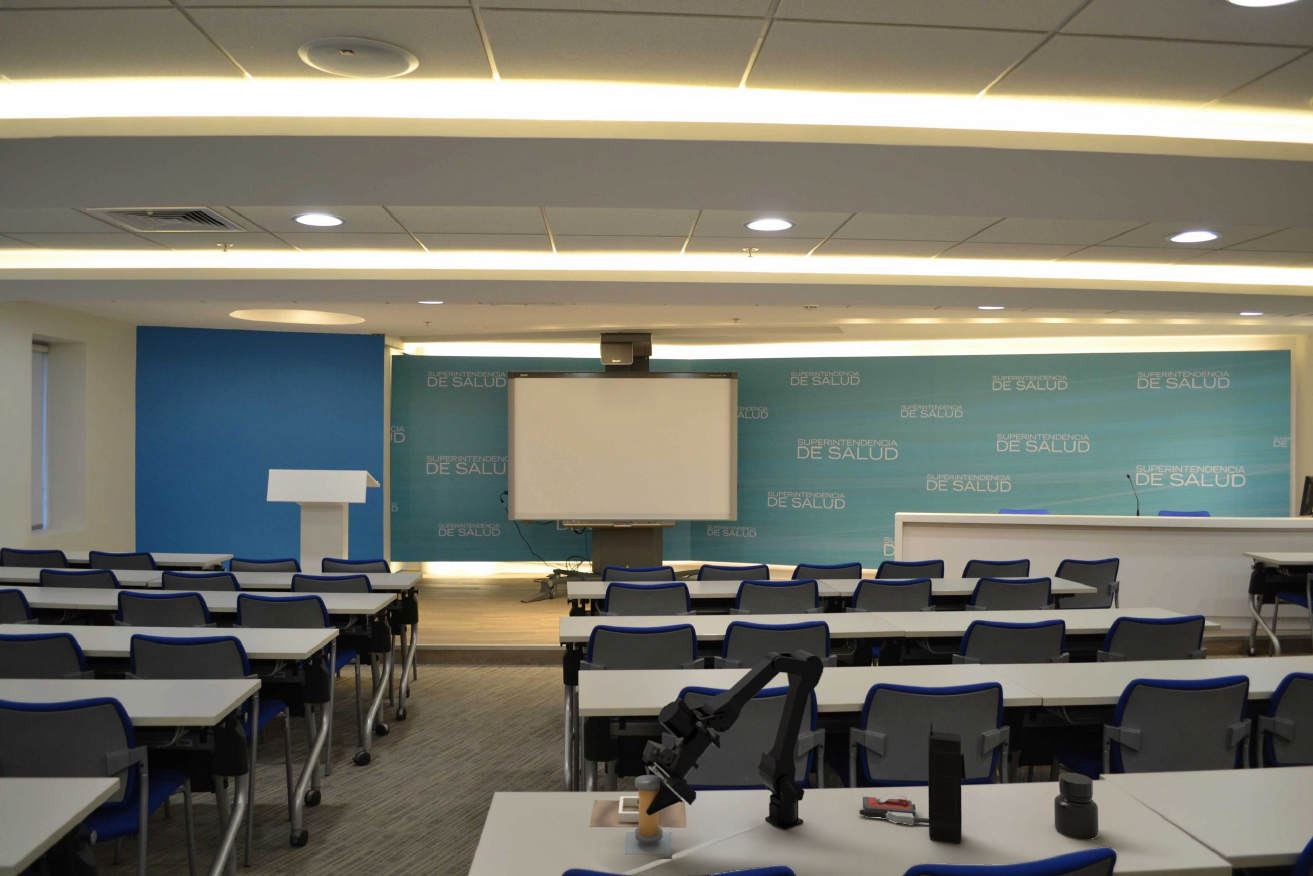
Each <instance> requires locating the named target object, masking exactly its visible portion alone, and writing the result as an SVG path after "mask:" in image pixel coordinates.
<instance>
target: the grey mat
mask: <svg viewBox="0 0 1313 876" xmlns="http://www.w3.org/2000/svg"><path fill="white" fill-rule="evenodd" d="M625 833H626V834H625V846H624V855H667V856H664V857H661V858H659V859H660V860H672V859H673V849H672V848H673V847H672V846H673V845H672V832H671V831H669V832H668V831H663V837H662V839H661V840H659V841H657V842H653V843H644V842H640V841H638V840H637V839H636V838H635V831H626V832H625Z"/></svg>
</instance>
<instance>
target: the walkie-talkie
mask: <svg viewBox="0 0 1313 876" xmlns="http://www.w3.org/2000/svg"><path fill="white" fill-rule="evenodd" d="M858 812H859V813H858V814H859V815H860V816H864V815H865V816H867V817H881V818H886V819H888V820H891V821H894V822H897V823H906V824H911V825H910V826H912V825H915V824H916V823H917V824H920V823H922V824H929V817H928V818H927V817H919V816H917V815H916V814H917V810H916V804H915V803H912V800H910V799H908V798H907V797H906V795H905V796H904V795H894V794H889V795H886V796H884V797H880V795H875V797H874V796H873V797H872V796H862V809H859V811H858ZM886 819H885V820H886ZM888 820H887V821H888Z"/></svg>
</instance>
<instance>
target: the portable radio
mask: <svg viewBox="0 0 1313 876" xmlns="http://www.w3.org/2000/svg"><path fill="white" fill-rule="evenodd" d="M929 725H930V730H928V733H927V750H928V751H927V753H928V755H927V761H928V762H927V765H928V767H927V769H928V771H927V772H928V774H927V776H928V777H927V778H928V781H927V783H928V784H927V785H928V788H927V789H928V792H927V793H928V795H927V796H928V818H929V823H928V837H929V839H930V840H931V841H936V842H941V843H942V842H943V843H950V844H956V845H959V844H961V843H962V835H963V834H962V832H963V831H962V828H963V827H962V822H963V821H962V817H963V815H962V814H963V813H962V811H963V810H962V780H964V782H966V781H967V779H966V764H965V753H964V752H963V753H962V738H961V734H959V733H954V732H952V733H951V732H943V731H936V730H935V731H934V730H933V726H934V724H933V723H929Z"/></svg>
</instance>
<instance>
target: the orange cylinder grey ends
mask: <svg viewBox="0 0 1313 876" xmlns="http://www.w3.org/2000/svg"><path fill="white" fill-rule="evenodd" d="M660 780H661V781H662V782H664V781H663V780H664V779H663V780H662V778H660V777H658V776H655V775H647V774H646V775H645V774H644V775H640V776H638V777H636V778H635V780H634V786H635V788H636V789H638V796H639V827H636V829H635V830H634V832H635V838H636V839H637V840H638V841H640V842H644V843H653V842H657V841H659V840H661V839H662V837H663V832H664V831H663V829H662V827H659V811H658V812H656V813H654V814H652V815H648V814H647V813H646V811H647V809H648V807H649V806H650V804H651V802H652V801H653V799H654V798H655V796H656V795H657V793H658V792H659V789H660Z"/></svg>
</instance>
